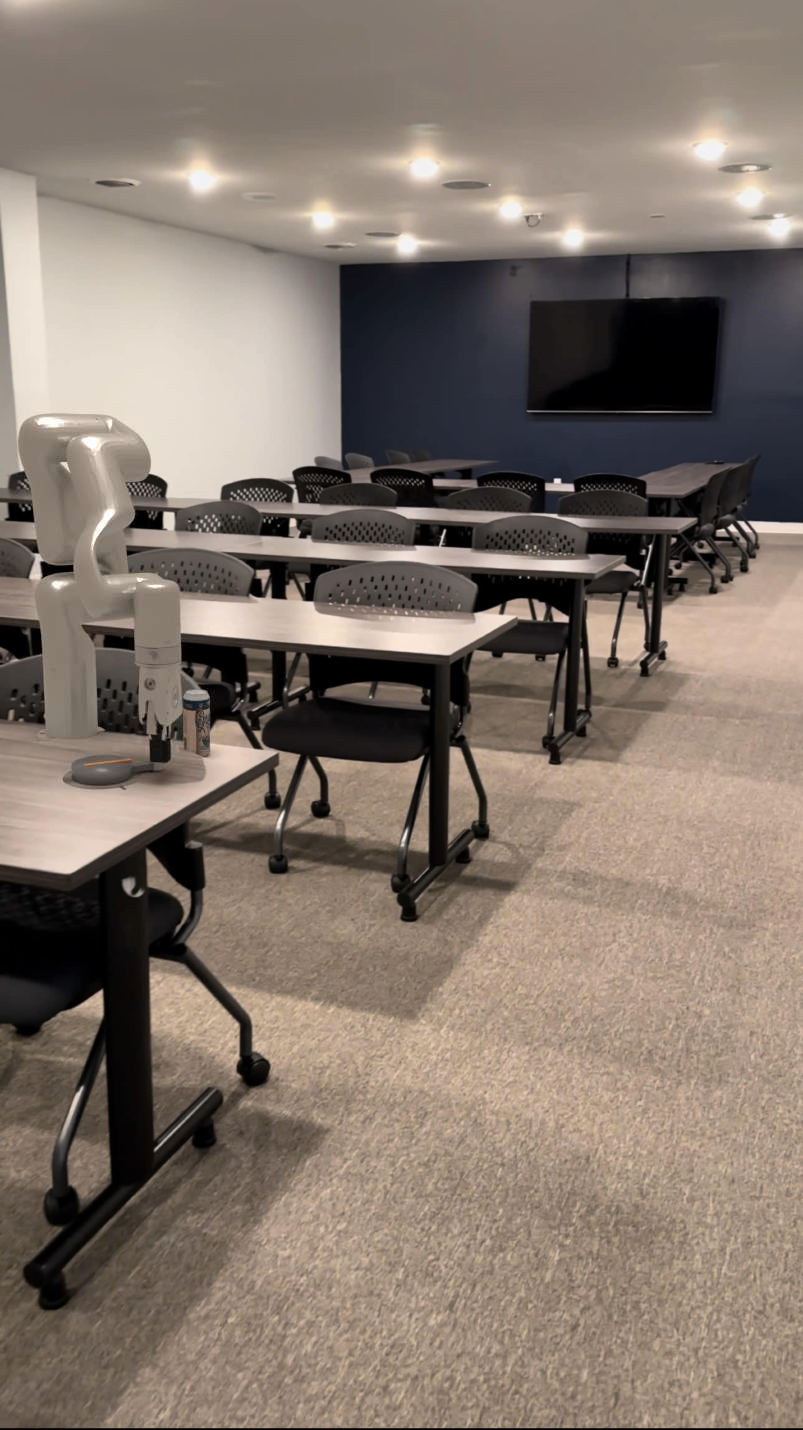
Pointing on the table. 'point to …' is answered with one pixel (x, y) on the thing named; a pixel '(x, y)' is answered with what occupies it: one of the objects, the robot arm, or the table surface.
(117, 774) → the dial
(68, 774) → the board
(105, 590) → the robot arm
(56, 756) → the table surface
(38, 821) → the table surface
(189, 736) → the beer can
